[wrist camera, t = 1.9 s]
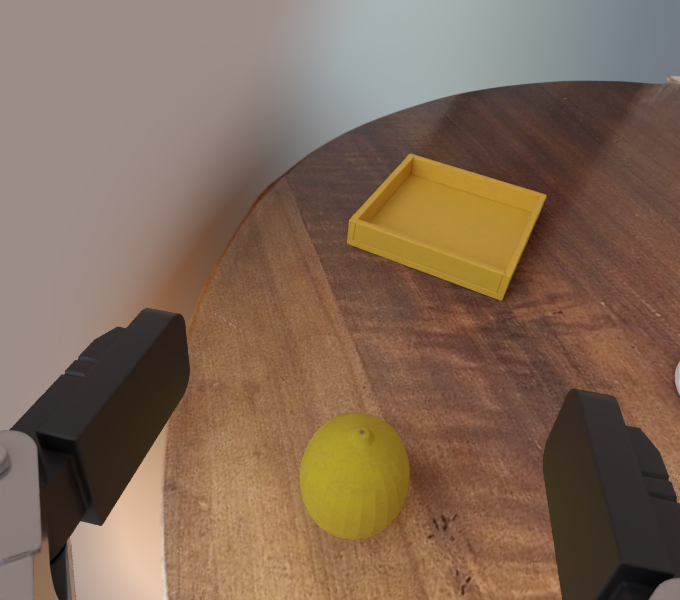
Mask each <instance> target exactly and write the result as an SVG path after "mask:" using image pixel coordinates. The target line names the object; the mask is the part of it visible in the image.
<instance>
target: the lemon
mask: <svg viewBox="0 0 680 600" xmlns="http://www.w3.org/2000/svg"><path fill="white" fill-rule="evenodd" d="M409 480H410V466H409V461H408V457H407V452H406V449H405V447H404V445H403V443H402V441H401V439H400V437H399V435H398V434H397V433H396V432H395V431H394V429H393V428H392V427H391V426H390V425H388V424H387V423H386V422H384V421H383V420H381V419H379V418H377V417H375V416H373V415H369V414H365V413H347V414H343V415H339V416H337V417H335V418H333V419H331V420H329V421H327V422H326V423H325V424H324V425H323V426H322V427H320V428H319V429H318V430H317V432H316V433H315V434H314V436H313V437H312V439H311V440H310V442H309V443H308V445H307V447H306V450H305V453H304V456H303V458H302V461H301V466H300V480H299V484H300V490H301V494H302V499H303V502H304V505H305V507H306V509H307V511H308V513H309V515H310V516H311V518H312V519H313V520H314V521H315V522H316V523H317V524H318V526H319V527H321V528H322V529H324V530H325V531H327V532H328V533H329V534H331V535H334V536H336V537H339V538H342V539H350V540H358V539H364V538H369V537H371V536H374V535H376V534H378V533H380V532H382V531H383V530H384V529H385V528H386V527H388V526H389V525H390V524H391V523H392V522H393V521H394V520H395V518H396V517H397V515H398V514H399V512H400V511H401V509H402V508H403V505H404V502H405V499H406V496H407V493H408V490H409Z"/></svg>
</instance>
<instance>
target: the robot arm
mask: <svg viewBox="0 0 680 600" xmlns="http://www.w3.org/2000/svg"><path fill="white" fill-rule="evenodd" d="M189 375H190V365H189V356H188V346H187V337H186V327H185V320H184V318H183V316H182V315H181V314H177V313H171V312H166V311H161V310H156V309H150V308H146V309H144V310H142V311H141V312H140V313H139V314H138V316H137V317H136V318H135V319H134V320H133V321H132V322H131V323H130V325H129V326H128V327H127V328H121V327H116V328H114V329H112V330H111V331H109V332H107V333H105V334H104V335H102V336H100V337H99V338H97V339H95V340H94V341H93V342H92V343H91V344H90V345H89V346H88V347H87V348H86V349H85V350H84V351H83V352H82V353H81V355H80V356H79V358H78V360H75V361H74V362H73V363H72V364H71V365H70V366H69V367H68V368H67V370H65V374H64V375H61V376H60V377H59V378H58V379H57V380H56V382H54V383H53V384H52V385H51V386H50V388H49V389H48V390H47V391H46V392H45V393H44V394H43V395H42V396H41V397H40V398H39V399H38V400H37V401H36V402H35V404H34V405H33V406H32V407H31V408H30V409H29V410H28V411H27V412H26V413H25V414H24V415H23V416H22V417H21V418H20V419H19V421H18V422H17V423H16V424H15V425H14V426H13V427H12V428H11V429H10V430H3V431H0V600H76V592H75V581H74V570H73V558H72V547H71V541H70V536H71V534H72V533H73V531H74V530H75V528H76V526H77V525H78V524H79V522H80V521H83V522H87V523H91V524H95V525H99V526H102V525H103V523H104V522H105V520H106V518H107V517H108V515H109V514H110V512H111V510H112V509H113V507H114V506H115V504H116V502H117V501H118V499H119V498H120V496H121V495H122V493H123V491H124V490H125V488H126V486H127V485H128V483H129V482H130V480H131V478H132V477H133V475H134V474H135V472H136V471H137V469H138V467H139V466H140V464H141V463H142V461H143V459H144V458H145V456H146V454H147V453H148V451H149V450H150V448H151V446H152V445H153V443H154V442H155V440H156V439H157V437H158V435H159V434H160V432H161V431H162V429H163V427H164V426H165V424H166V423H167V421H168V419H169V418H170V416H171V415H172V413H173V411H174V410H175V408H176V407H177V405H178V403H179V402H180V400H181V399H182V397H183V395H184V393H185V391H186V388H187V385H188V381H189ZM543 473H544V480H545V487H546V494H547V500H548V507H549V514H550V520H551V527H552V534H553V541H554V547H555V554H556V561H557V567H558V574H559V581H560V588H561V594H562V600H680V504H679V503H678V502H676V499H677V496H676V494H675V491H674V488H673V486H672V483H671V482H670V481H669V480H668V478H669V475H668V473H667V470H666V468H665V465H664V462H663V460H662V457H661V455H660V452H659V451H658V449H657V448H656V447H655V446H654V445H653V443H652V442H651V441H650V440H649V439H648V437H647V436H646V435H645V434H644V433H643V432H642V430H641V429H640V428H636V427H631V426H626V425H625V423H624V420H623V417H622V414H621V411H620V408H619V405H618V402H617V400H616V398H615V397H614V396H611V395H606V394H600V393H595V392H589V391H584V390H579V389H571V390H570V391H569V392H568V394H567V396H566V398H565V400H564V403H563V405H562V407H561V410H560V412H559V414H558V416H557V419H556V421H555V423H554V425H553V428H552V430H551V432H550V434H549V437H548V439H547V442H546V445H545V449H544V456H543Z"/></svg>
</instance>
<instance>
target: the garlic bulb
mask: <svg viewBox="0 0 680 600" xmlns="http://www.w3.org/2000/svg"><path fill="white" fill-rule="evenodd" d="M675 384H676V388H677V391H678V393H679V395H680V361H679V363H678V365H677V368H676V371H675Z"/></svg>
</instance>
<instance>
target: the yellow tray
mask: <svg viewBox="0 0 680 600" xmlns="http://www.w3.org/2000/svg"><path fill="white" fill-rule="evenodd" d="M546 196H547V195H545V194H542V193H541V194H540V193H539V192H535V191H532V190H529V189H525V188H522V187H519V186H516V185H512V184H509V183H506V182H502V181H499V180H496V179H492V178H489V177H486V176H483V175H479V174H476V173H473V172H469V171H466V170H463V169H459V168H456V167H453V166H450V165H446V164H443V163H440V162H436V161H433V160H430V159H427V158H423V157H420V156H417V155H414V154H409V155H408V156H407V157H406V159H405V160H404V161H403V162H402V163H401V164H400V165H399V166H398V167H397V168H396V169H395V171H394V172H393V173H392V174H391V175H390V176H389V177H388V178H387V179H386V180H385V181H384V183H383V184H382V185H381V186H380V187H379V188H378V189H377V190H376V191H375V192H374V193H373V195H372V196H371V197H370V198H369V199H368V200H367V201H366V202H365V203H364V204H363V205H362V207H361V208H360V209H359V210H358V211H357V212H356V213H355V214H354V215H353V216H352V217H351V219H350V220H349V228H348V239H347V244H349V245H352V246H354V247H357V248H360V249H363V250H365V251H368V252H371V253H373V254H376V255H379V256H381V257H384V258H387V259H390V260H392V261H395V262H398V263H400V264H403V265H406V266H408V267H411V268H414V269H417V270H419V271H422V272H425V273H427V274H430V275H433V276H436V277H438V278H441V279H444V280H446V281H449V282H452V283H454V284H457V285H460V286H463V287H465V288H468V289H471V290H473V291H476V292H479V293H481V294H484V295H487V296H490V297H492V298H495V299H498V300H500V301H502V300H503V298H504V295H505V293H506V291H507V288H508V286H509V284H510V281H511V279H512V277H513V274H514V272H515V270H516V268H517V265H518V263H519V261H520V258H521V256H522V254H523V251H524V249H525V247H526V244H527V242H528V240H529V238H530V235H531V233H532V231H533V228H534V226H535V224H536V221H537V219H538V217H539V214H540V212H541V209H542V206H543V204H544V201H545V199H546Z"/></svg>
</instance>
